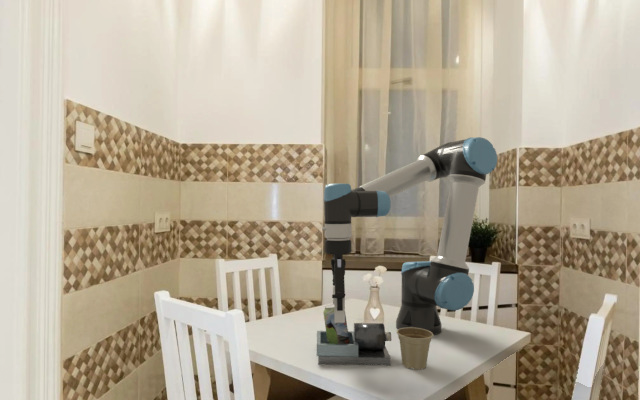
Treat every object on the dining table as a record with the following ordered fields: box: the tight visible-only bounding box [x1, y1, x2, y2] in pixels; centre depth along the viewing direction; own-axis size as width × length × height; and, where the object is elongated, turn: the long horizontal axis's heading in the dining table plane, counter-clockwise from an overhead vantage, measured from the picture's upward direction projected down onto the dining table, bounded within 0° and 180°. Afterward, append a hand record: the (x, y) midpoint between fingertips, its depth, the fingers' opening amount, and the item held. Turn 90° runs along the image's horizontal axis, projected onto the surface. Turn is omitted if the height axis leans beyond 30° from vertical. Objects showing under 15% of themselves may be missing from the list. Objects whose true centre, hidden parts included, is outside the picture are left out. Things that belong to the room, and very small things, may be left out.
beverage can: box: [323, 303, 350, 344], centre depth 115 cm, size 6×7×12 cm
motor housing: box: [316, 322, 392, 366], centre depth 114 cm, size 20×13×9 cm, turn 90°
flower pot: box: [396, 327, 434, 371], centre depth 108 cm, size 9×9×9 cm
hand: (338, 315), depth 115 cm, fingers open, 13 cm apart
